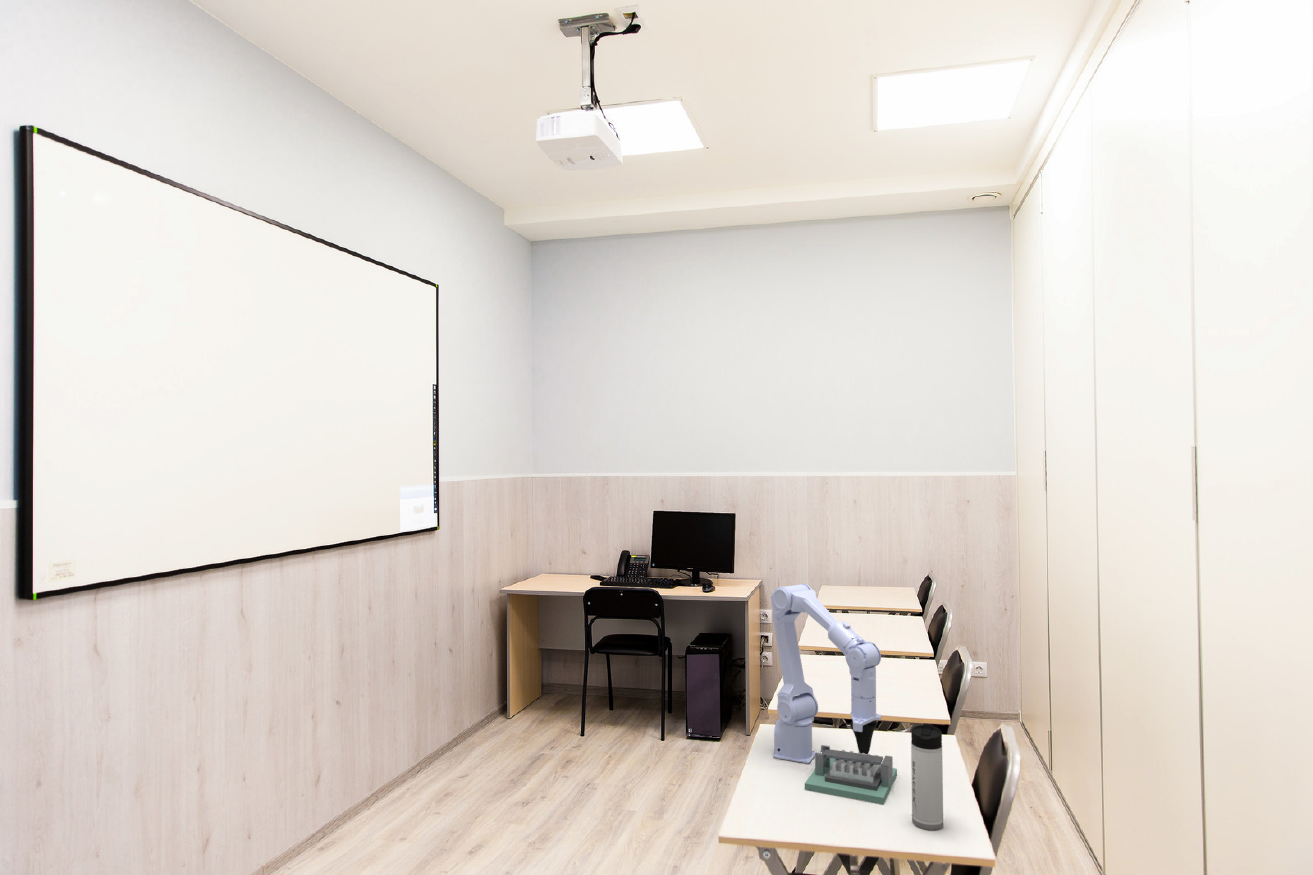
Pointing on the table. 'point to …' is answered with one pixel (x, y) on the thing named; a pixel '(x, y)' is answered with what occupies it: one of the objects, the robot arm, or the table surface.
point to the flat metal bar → (852, 756)
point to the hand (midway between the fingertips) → (864, 752)
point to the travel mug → (927, 777)
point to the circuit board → (849, 786)
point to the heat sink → (855, 769)
